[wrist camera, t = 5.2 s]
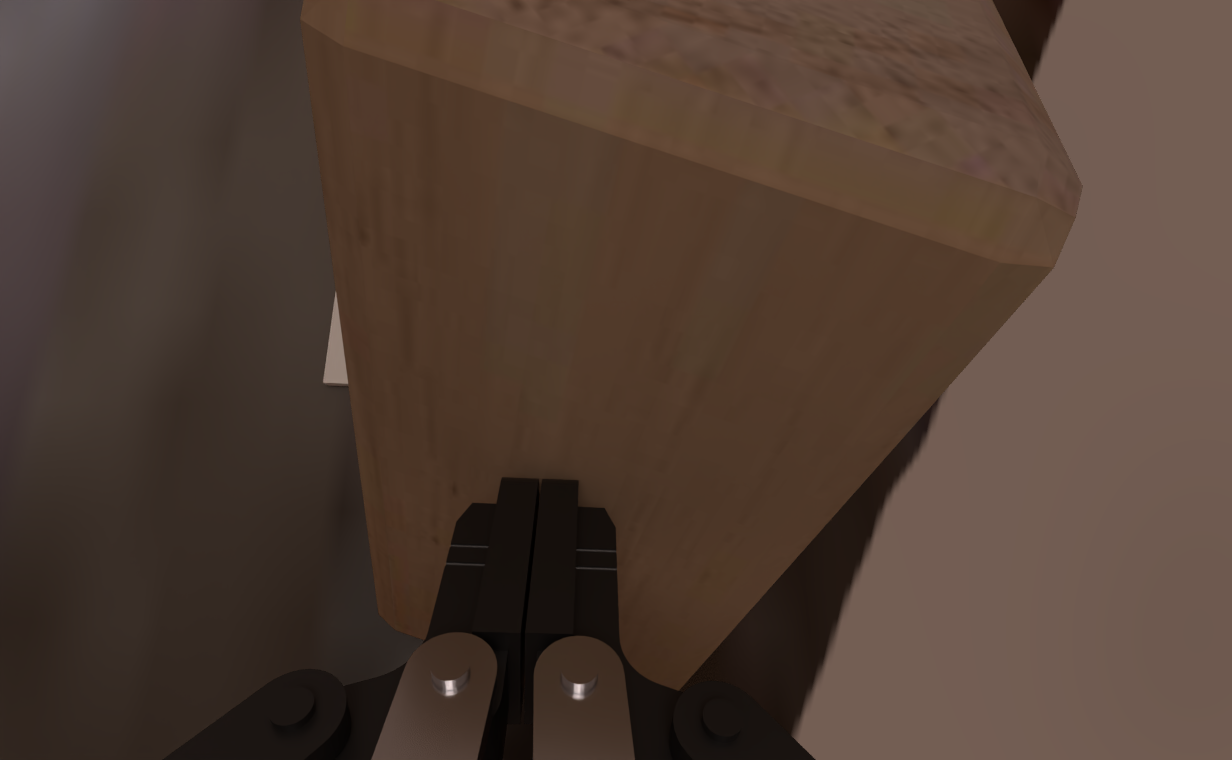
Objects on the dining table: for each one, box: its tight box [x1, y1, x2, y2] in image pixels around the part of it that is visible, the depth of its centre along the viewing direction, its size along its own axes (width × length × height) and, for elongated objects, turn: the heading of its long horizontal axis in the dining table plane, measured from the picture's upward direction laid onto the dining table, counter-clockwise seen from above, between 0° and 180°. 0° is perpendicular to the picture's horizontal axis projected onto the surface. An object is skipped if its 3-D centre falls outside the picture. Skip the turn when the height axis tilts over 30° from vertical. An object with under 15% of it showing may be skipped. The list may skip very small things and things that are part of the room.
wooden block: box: [300, 0, 1083, 691], centre depth 18 cm, size 10×10×20 cm
